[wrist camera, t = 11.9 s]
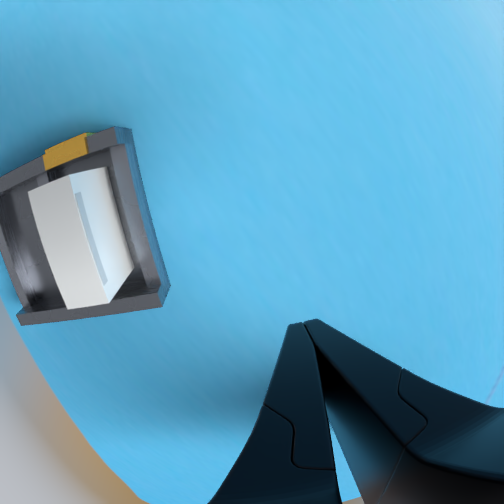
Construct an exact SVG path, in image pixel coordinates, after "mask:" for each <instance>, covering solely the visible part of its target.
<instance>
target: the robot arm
mask: <svg viewBox="0 0 504 504" xmlns="http://www.w3.org/2000/svg"><path fill="white" fill-rule="evenodd" d="M328 418H329V421H330V423H331V425H332V428H333V430H334V432H335V435H336V437H337V440H338V442H339V444H340V447H341V449H342V451H343V454H344V456H345V458H346V461H347V463H348V466H349V468H350V470H351V473H352V475H353V477H354V480H355V482H356V484H357V487H358V489H359V492H360V494H361V496H362V499H363V501H364V503H365V504H504V408H498V407H492V406H489V405H486V404H483V403H480V402H478V401H475V400H472V399H470V398H467V397H465V396H462V395H459V394H457V393H454V392H452V391H449V390H447V389H445V388H442V387H440V386H438V385H435V384H433V383H431V382H429V381H427V380H425V379H423V378H421V377H419V376H417V375H415V374H413V373H412V372H410V371H408V370H406V369H404V368H403V369H402V367H401V366H399V365H397V364H395V363H394V362H392V361H390V360H388V359H386V358H385V357H383V356H381V355H379V354H378V353H376V352H374V351H372V350H371V349H369V348H367V347H365V346H364V345H362V344H360V343H359V342H357V341H355V340H353V339H352V338H350V337H348V336H346V335H345V334H343V333H341V332H340V331H338V330H336V329H334V328H333V327H331V326H329V325H328V324H326V323H324V322H323V321H321V320H319V319H313V320H308V321H305V322H304V323H302V322H299V323H294V324H290V325H289V326H288V328H287V331H286V334H285V338H284V341H283V344H282V347H281V350H280V354H279V357H278V360H277V363H276V366H275V369H274V372H273V375H272V378H271V381H270V384H269V387H268V390H267V393H266V396H265V399H264V402H263V406H262V407H261V410H260V413H259V415H258V418H257V421H256V423H255V425H254V428H253V430H252V433H251V435H250V437H249V439H248V441H247V442H246V444H245V446H244V448H243V450H242V452H241V453H240V455H239V457H238V458H237V460H236V462H235V464H234V465H233V467H232V468H231V470H230V472H229V473H228V475H227V477H226V478H225V480H224V481H223V483H222V485H221V486H220V488H219V489H218V491H217V492H216V494H215V495H214V496H213V498H212V499H211V500H210V501H209V503H208V504H342V501H341V497H340V492H339V487H338V481H337V475H336V467H335V461H334V454H333V447H332V441H331V434H330V428H329V422H328Z"/></svg>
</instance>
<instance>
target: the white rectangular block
mask: <svg viewBox="0 0 504 504" xmlns="http://www.w3.org/2000/svg"><path fill="white" fill-rule="evenodd" d="M28 195H29V199H30V203H31V207H32V211H33V215H34V218H35V222H36V225H37V229H38V232H39V235H40V238H41V241H42V245H43V248H44V251H45V253H46V256H47V259H48V262H49V265H50V267H51V270H52V273H53V275H54V278H55V281H56V283H57V286H58V288H59V290H60V293H61V295H62V298H63V300H64V302H65V305H66V307H67V309H75V308H81V307H88V306H94V305H101V304H107V303H110V301H111V300H112V298H113V297H114V295H115V294H116V293H117V291H118V290H119V288H120V287H121V285H122V284H123V283H124V281H125V280H126V278H127V277H128V276H129V274H130V273H131V271H132V270H133V269H134V264H133V261H132V258H131V255H130V252H129V248H128V245H127V242H126V239H125V235H124V232H123V228H122V225H121V221H120V217H119V214H118V210H117V206H116V202H115V199H114V195H113V190H112V186H111V182H110V178H109V173H108V169H107V167H102V168H97V169H92V170H88V171H83V172H79V173H74V174H70V175H67V176H65V177H62V178H59V179H57V180H54V181H52V182H50V183H47V184H45V185H42V186H40V187H38V188H35V189H33V190H31V191H28Z"/></svg>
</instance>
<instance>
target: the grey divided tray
mask: <svg viewBox="0 0 504 504" xmlns="http://www.w3.org/2000/svg"><path fill="white" fill-rule="evenodd" d="M102 167H107V169H108V173H109V178H110V182H111V186H112V190H113V195H114V199H115V202H116V206H117V210H118V214H119V217H120V221H121V225H122V228H123V232H124V235H125V239H126V242H127V245H128V248H129V252H130V255H131V258H132V261H133V264H134V269H133V270H132V271H131V273H130V274H129V276H128V277H127V278H126V280H125V281H124V283H123V284H122V285H121V287H120V288H119V290H118V291H117V293H116V294H115V295H114V297H113V298H112V300H111V301H110V303H107V304H101V305H94V306H88V307H81V308H75V309H67V307H66V305H65V302H64V300H63V298H62V295H61V293H60V290H59V288H58V286H57V283H56V281H55V278H54V275H53V273H52V270H51V267H50V265H49V262H48V259H47V256H46V253H45V251H44V248H43V245H42V241H41V238H40V235H39V232H38V229H37V225H36V222H35V218H34V215H33V211H32V207H31V203H30V199H29V195H28V191H31V190H33V189H35V188H38V187H40V186H42V185H45V184H47V183H50V182H52V181H54V180H57V179H59V178H62V177H65V176H67V175H70V174H74V173H79V172H83V171H88V170H92V169H97V168H102ZM0 251H1V254H2V256H3V259H4V262H5V265H6V268H7V270H8V273H9V275H10V278H11V281H12V283H13V285H14V288H15V290H16V293H17V295H18V297H19V300H20V302H21V304H22V306H23V308H22V309H21V310H20V311H19V312H18V313H17V314H16V316H17V318H18V320H19V322H20V324H21V326H23V325H33V324H42V323H50V322H59V321H67V320H75V319H83V318H90V317H98V316H105V315H112V314H119V313H126V312H132V311H139V310H146V309H152V308H158V307H163V304H164V301H165V299H166V296H167V294H168V291H169V288H170V286H171V285H170V282H169V279H168V275H167V272H166V269H165V266H164V262H163V259H162V255H161V252H160V248H159V245H158V241H157V238H156V234H155V230H154V227H153V223H152V219H151V215H150V211H149V208H148V204H147V199H146V195H145V191H144V187H143V183H142V178H141V174H140V169H139V165H138V160H137V156H136V151H135V146H134V141H133V136H132V130H131V129H127V128H121V127H112V128H109V129H106V130H103V131H100V132H98V133H89V132H86V133H83V134H81V135H78V136H76V137H73V138H71V139H69V140H66V141H64V142H62V143H59V144H57V145H55V146H53V147H51V148H48V149H46V150H45V154H44V155H43V156H41V157H38V158H36V159H34V160H32V161H30V162H28V163H26V164H24V165H22V166H20V167H18V168H16V169H15V170H13V171H11V172H9V173H7V174H5V175H4V176H2V177H0Z"/></svg>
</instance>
